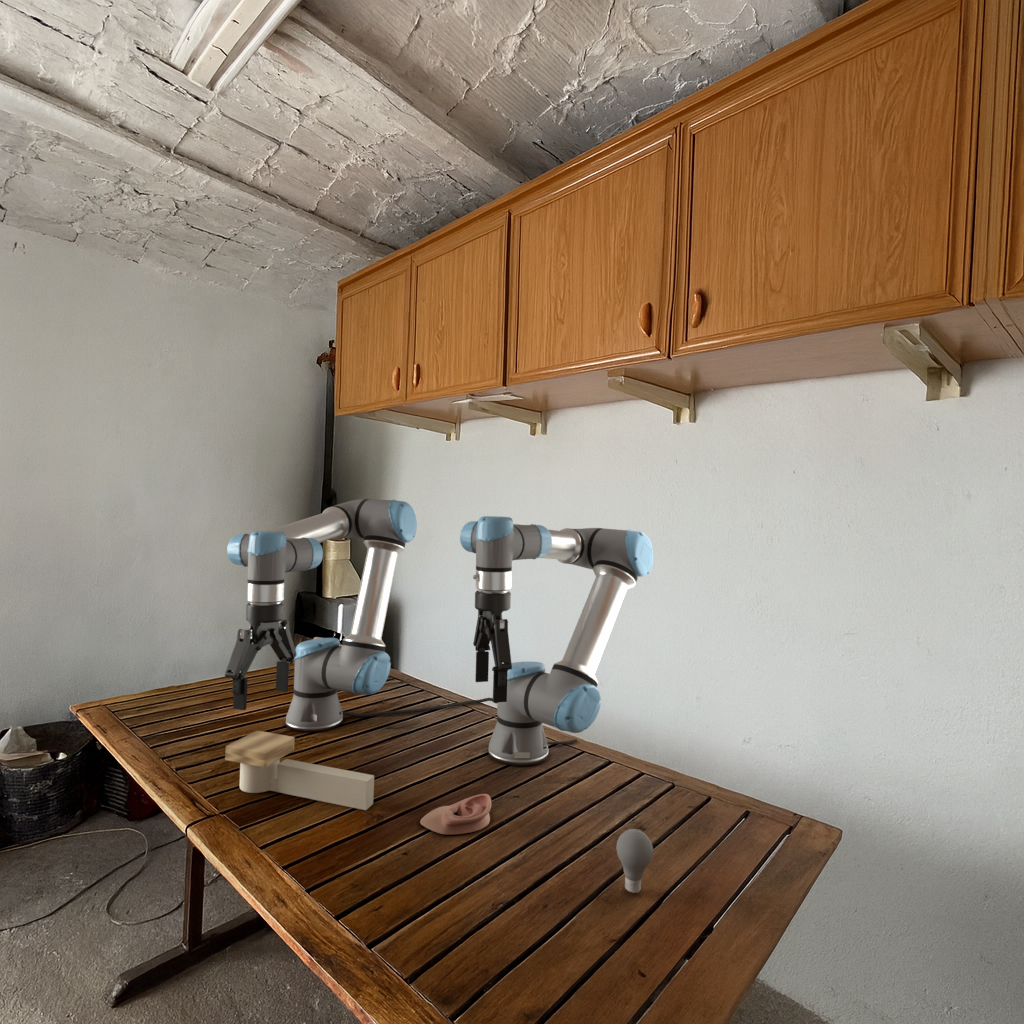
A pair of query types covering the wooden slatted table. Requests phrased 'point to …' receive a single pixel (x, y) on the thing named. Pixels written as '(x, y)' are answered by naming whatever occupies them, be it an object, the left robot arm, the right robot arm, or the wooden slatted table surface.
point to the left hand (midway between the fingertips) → (261, 699)
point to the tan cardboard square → (259, 748)
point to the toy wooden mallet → (310, 782)
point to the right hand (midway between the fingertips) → (490, 691)
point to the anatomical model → (460, 816)
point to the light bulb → (634, 857)
